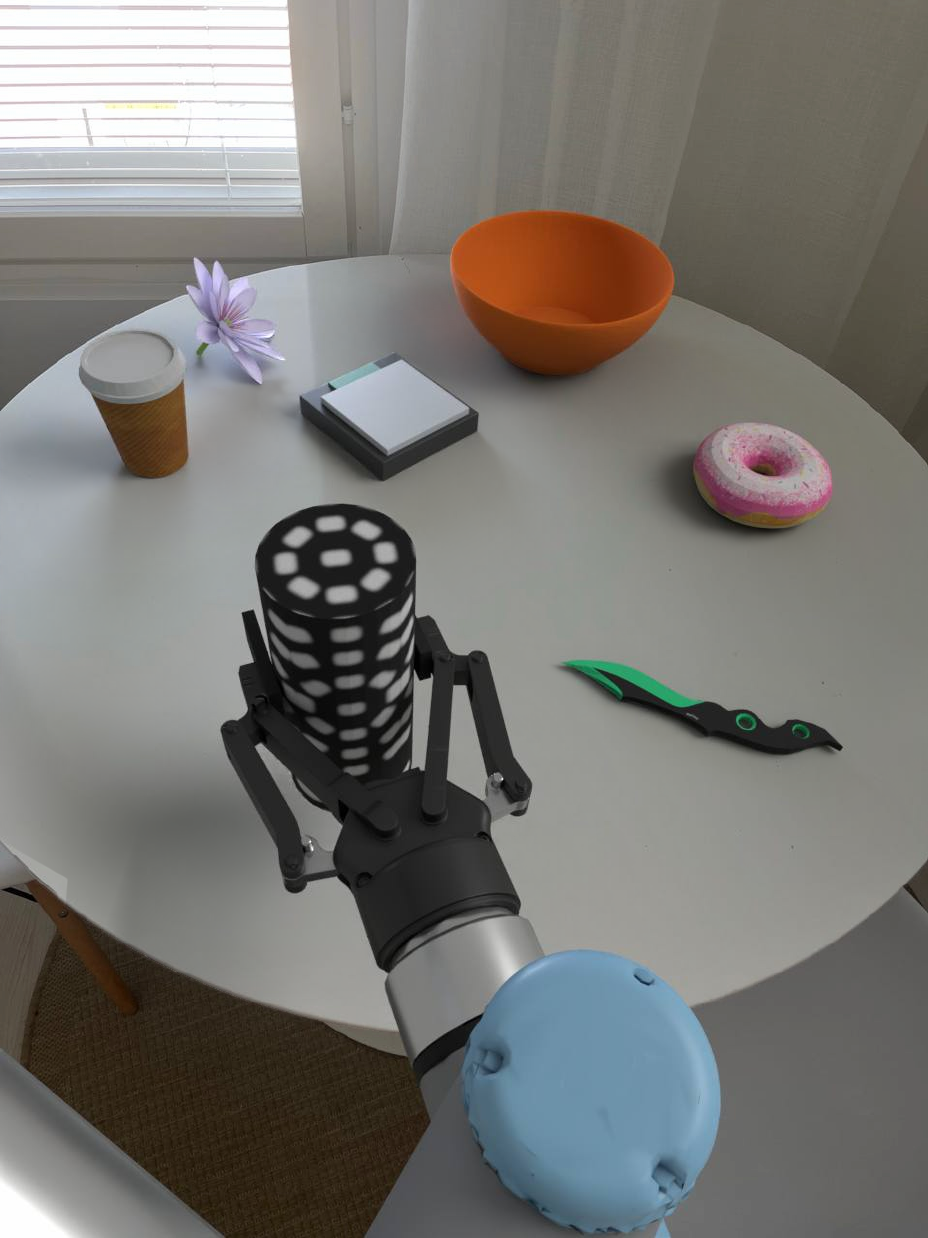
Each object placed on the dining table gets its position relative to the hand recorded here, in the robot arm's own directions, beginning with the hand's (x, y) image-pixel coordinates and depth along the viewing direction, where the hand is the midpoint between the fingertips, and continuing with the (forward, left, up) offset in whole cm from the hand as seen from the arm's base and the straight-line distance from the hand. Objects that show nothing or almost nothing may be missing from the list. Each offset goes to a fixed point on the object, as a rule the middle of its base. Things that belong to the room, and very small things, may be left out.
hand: (322, 607), depth 57 cm
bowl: (-30, +54, -18) cm, 65 cm away
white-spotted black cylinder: (+4, -2, -11) cm, 12 cm away
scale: (-30, +29, -18) cm, 45 cm away
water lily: (-49, +23, -18) cm, 57 cm away
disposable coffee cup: (-40, +7, -18) cm, 44 cm away
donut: (+2, +51, -18) cm, 55 cm away
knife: (+15, +25, -18) cm, 35 cm away
